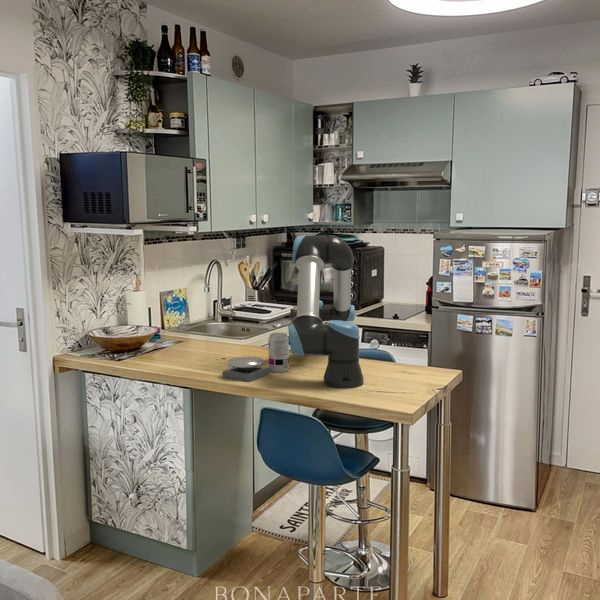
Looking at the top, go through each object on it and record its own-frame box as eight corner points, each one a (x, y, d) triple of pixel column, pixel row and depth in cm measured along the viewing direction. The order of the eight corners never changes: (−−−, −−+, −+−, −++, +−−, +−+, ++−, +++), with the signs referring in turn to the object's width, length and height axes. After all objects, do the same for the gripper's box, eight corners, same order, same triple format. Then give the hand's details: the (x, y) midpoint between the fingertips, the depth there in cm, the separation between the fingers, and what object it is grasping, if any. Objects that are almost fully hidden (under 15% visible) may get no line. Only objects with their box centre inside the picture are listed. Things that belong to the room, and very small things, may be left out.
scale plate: (270, 368, 254) (270, 359, 254) (250, 376, 242) (250, 366, 242) (241, 364, 261) (241, 355, 261) (220, 372, 249) (220, 362, 249)
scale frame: (268, 374, 254) (268, 367, 254) (250, 381, 243) (250, 375, 243) (242, 370, 261) (241, 364, 261) (222, 377, 250) (222, 371, 249)
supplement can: (265, 371, 259) (265, 335, 257) (273, 367, 266) (273, 331, 264) (284, 373, 256) (283, 336, 254) (291, 368, 263) (291, 333, 261)
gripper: (331, 348, 279) (311, 359, 260) (280, 344, 290) (258, 353, 271) (331, 332, 278) (311, 341, 259) (280, 328, 289) (257, 336, 270)
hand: (284, 347), depth 265 cm, fingers open, 13 cm apart
